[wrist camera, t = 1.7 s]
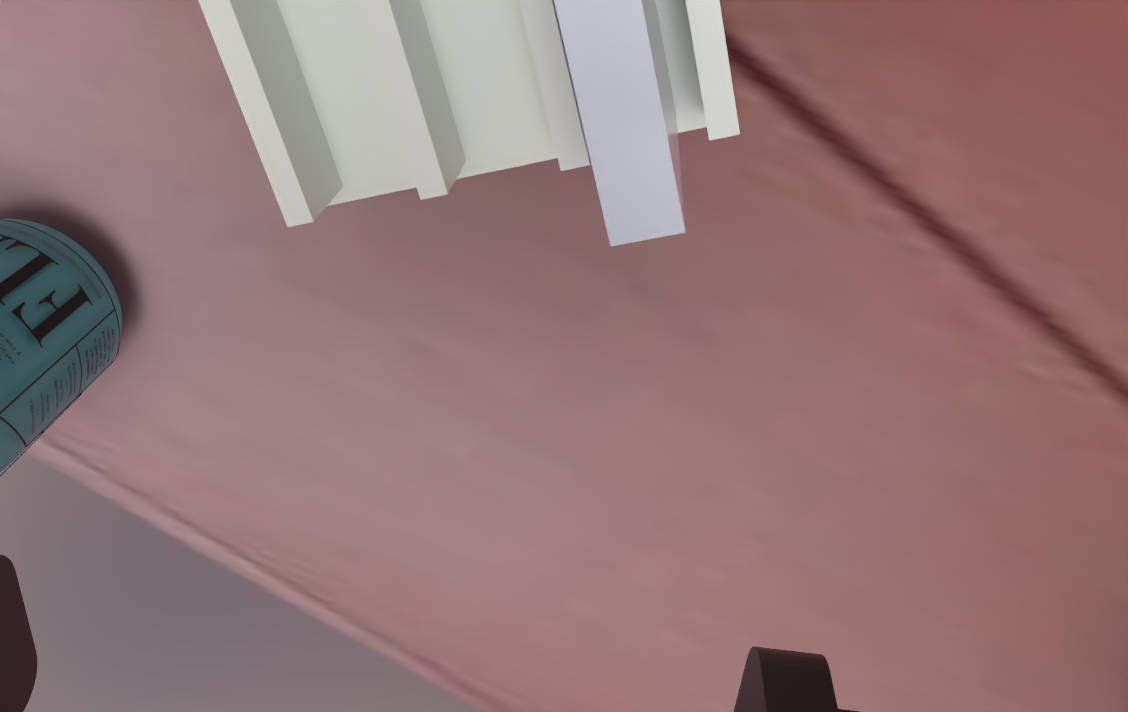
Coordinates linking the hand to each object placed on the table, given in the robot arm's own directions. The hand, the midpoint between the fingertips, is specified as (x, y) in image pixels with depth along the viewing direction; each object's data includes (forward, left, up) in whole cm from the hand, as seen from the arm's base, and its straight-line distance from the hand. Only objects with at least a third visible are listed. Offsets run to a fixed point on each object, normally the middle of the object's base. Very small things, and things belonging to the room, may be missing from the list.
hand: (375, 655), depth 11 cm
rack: (+1, -4, -21) cm, 22 cm away
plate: (-3, -4, -21) cm, 21 cm away
